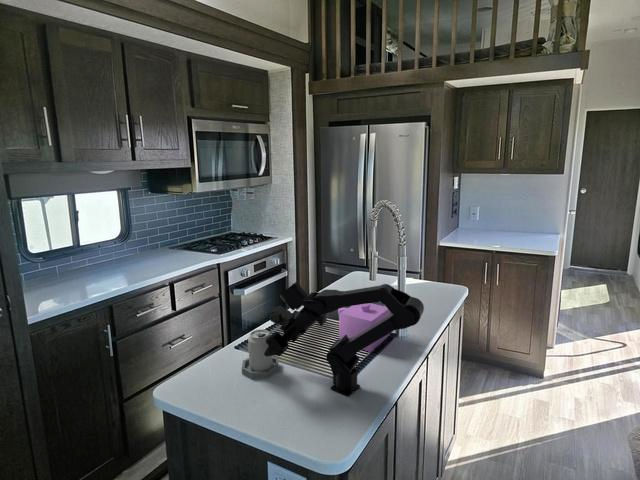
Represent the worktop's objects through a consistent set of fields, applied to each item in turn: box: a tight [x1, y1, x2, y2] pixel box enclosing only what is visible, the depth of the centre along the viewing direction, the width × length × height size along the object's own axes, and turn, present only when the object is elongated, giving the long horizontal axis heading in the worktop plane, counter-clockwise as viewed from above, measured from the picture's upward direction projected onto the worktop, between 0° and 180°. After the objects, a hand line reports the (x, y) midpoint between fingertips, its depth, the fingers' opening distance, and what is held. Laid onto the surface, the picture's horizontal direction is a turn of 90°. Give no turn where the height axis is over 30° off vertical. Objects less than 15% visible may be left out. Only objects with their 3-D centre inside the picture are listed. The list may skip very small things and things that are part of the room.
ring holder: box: [241, 355, 280, 380], centre depth 137 cm, size 12×12×2 cm
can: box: [247, 329, 273, 372], centre depth 135 cm, size 8×8×12 cm
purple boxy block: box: [337, 303, 391, 353], centre depth 155 cm, size 15×25×14 cm, turn 56°
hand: (272, 348), depth 133 cm, fingers open, 9 cm apart
